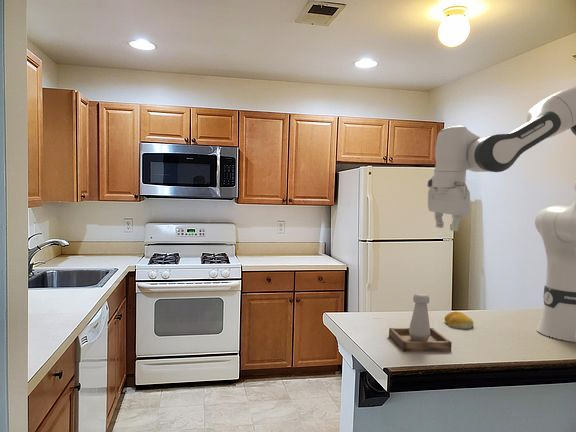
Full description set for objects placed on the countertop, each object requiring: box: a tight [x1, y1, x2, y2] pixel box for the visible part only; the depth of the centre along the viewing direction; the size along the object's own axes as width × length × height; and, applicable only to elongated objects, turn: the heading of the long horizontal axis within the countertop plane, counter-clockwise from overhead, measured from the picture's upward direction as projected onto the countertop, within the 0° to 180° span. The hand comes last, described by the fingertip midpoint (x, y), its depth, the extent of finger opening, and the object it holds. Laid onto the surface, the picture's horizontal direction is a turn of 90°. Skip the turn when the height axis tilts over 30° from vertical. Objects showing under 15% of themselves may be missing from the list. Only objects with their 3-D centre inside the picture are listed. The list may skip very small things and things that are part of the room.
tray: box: [388, 327, 453, 352], centre depth 126 cm, size 13×12×2 cm
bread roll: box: [444, 311, 474, 330], centre depth 145 cm, size 8×9×4 cm
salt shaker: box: [408, 292, 431, 341], centre depth 126 cm, size 6×6×13 cm
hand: (446, 229), depth 134 cm, fingers open, 8 cm apart
